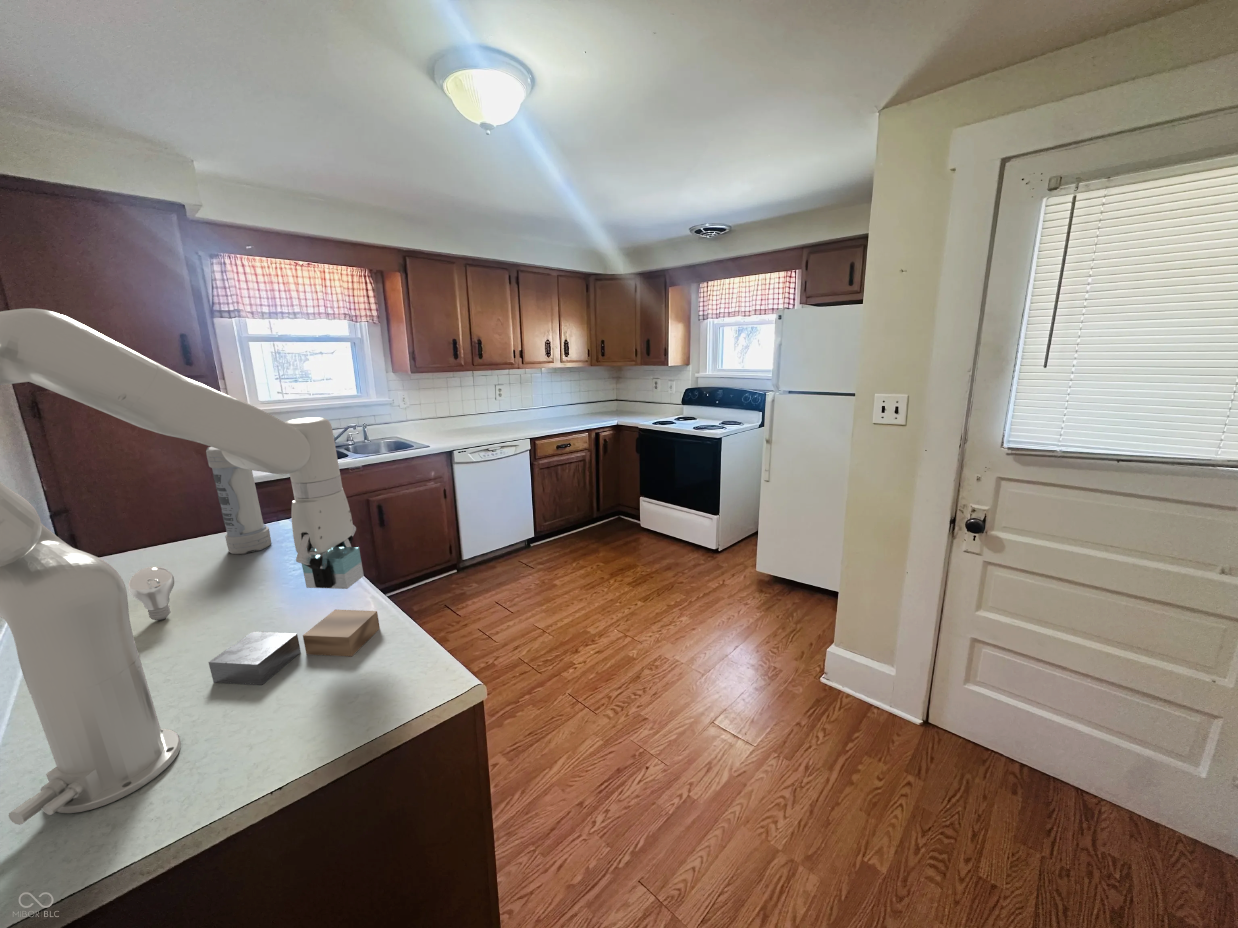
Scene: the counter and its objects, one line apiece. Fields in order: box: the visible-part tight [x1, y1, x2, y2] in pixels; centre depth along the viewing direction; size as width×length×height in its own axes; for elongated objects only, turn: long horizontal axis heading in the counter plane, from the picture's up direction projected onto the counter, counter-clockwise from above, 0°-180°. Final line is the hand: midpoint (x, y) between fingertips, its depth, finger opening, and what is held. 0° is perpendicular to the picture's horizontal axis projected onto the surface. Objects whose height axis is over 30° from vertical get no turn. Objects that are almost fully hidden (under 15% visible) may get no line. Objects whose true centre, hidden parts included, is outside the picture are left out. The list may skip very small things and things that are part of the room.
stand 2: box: [302, 609, 381, 658], centre depth 93 cm, size 9×9×4 cm
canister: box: [205, 446, 272, 555], centre depth 136 cm, size 10×10×30 cm
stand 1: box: [208, 631, 302, 686], centre depth 86 cm, size 9×9×4 cm
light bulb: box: [127, 565, 176, 622], centre depth 101 cm, size 7×7×12 cm
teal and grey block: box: [301, 546, 365, 590], centre depth 90 cm, size 8×5×6 cm, turn 84°
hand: (335, 578), depth 91 cm, fingers closed on teal and grey block, 5 cm apart
